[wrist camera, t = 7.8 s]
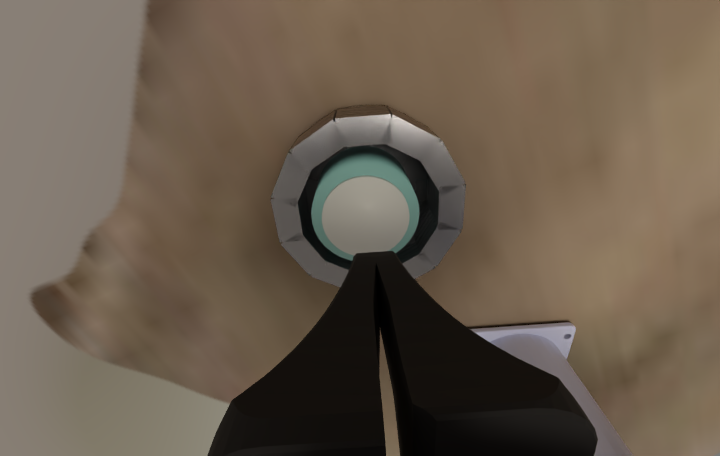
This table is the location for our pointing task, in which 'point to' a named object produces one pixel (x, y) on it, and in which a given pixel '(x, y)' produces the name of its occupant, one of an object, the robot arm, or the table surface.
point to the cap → (364, 203)
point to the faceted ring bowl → (414, 152)
